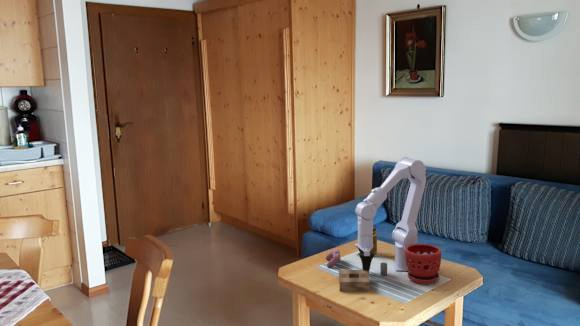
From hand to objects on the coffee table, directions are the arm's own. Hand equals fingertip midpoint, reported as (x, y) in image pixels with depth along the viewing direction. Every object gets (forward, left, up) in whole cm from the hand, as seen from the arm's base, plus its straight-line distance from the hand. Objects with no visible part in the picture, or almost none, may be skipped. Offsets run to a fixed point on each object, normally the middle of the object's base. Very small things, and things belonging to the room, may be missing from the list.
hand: (365, 267), depth 188 cm
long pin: (0, 0, -3) cm, 3 cm away
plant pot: (-21, +4, -3) cm, 22 cm away
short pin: (-7, 0, -3) cm, 8 cm away
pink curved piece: (+12, -12, -3) cm, 18 cm away
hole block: (+5, +9, -3) cm, 11 cm away
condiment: (-3, -22, -3) cm, 23 cm away
